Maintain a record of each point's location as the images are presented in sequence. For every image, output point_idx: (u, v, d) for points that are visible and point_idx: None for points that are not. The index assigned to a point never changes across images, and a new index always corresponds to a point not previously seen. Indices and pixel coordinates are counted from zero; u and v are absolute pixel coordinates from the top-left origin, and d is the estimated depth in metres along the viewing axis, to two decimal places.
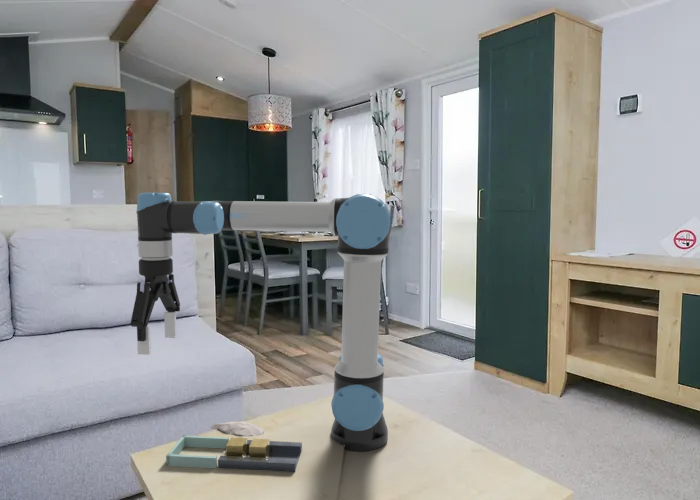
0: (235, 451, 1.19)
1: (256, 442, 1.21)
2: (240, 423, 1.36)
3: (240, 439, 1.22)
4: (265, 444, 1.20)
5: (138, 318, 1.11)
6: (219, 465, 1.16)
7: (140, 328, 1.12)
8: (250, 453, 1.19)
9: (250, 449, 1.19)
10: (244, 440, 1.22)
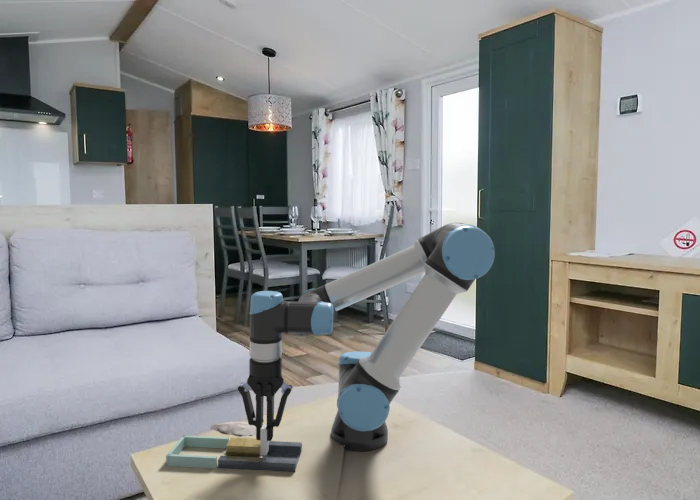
0: (235, 451, 1.19)
1: (250, 442, 1.21)
2: (239, 423, 1.36)
3: (240, 439, 1.22)
4: (259, 444, 1.20)
5: None
6: (219, 465, 1.16)
7: None
8: (244, 453, 1.19)
9: (244, 449, 1.19)
10: (244, 440, 1.22)
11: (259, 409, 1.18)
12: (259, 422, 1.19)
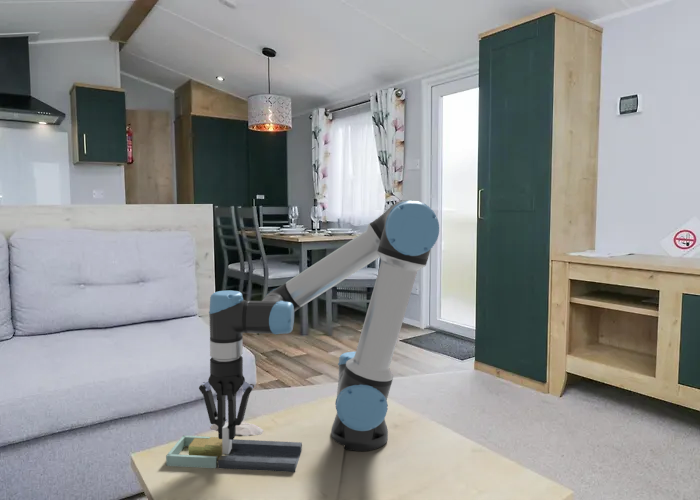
0: (197, 452, 1.20)
1: (213, 440, 1.21)
2: None
3: (203, 440, 1.23)
4: (221, 442, 1.20)
5: None
6: (219, 465, 1.16)
7: None
8: (206, 451, 1.19)
9: (206, 447, 1.19)
10: None
11: (220, 408, 1.19)
12: (221, 421, 1.19)
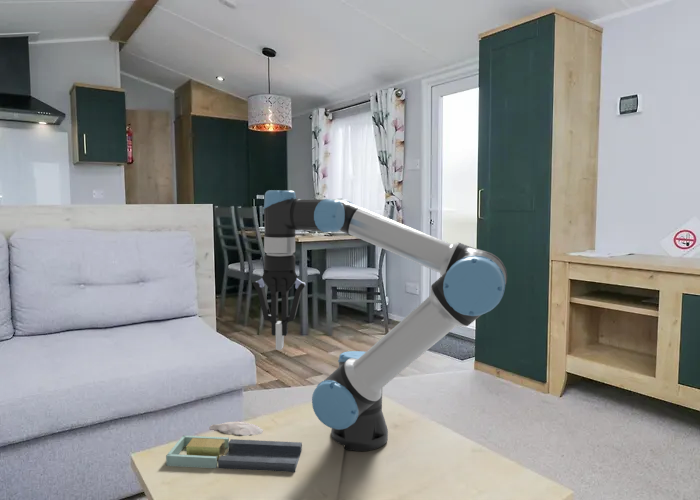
0: (195, 452, 1.20)
1: (211, 442, 1.21)
2: (238, 423, 1.36)
3: (201, 440, 1.23)
4: (219, 444, 1.21)
5: None
6: (219, 465, 1.16)
7: None
8: (204, 453, 1.20)
9: (204, 449, 1.19)
10: (205, 441, 1.22)
11: (274, 304, 1.23)
12: (274, 317, 1.23)
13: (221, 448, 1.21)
